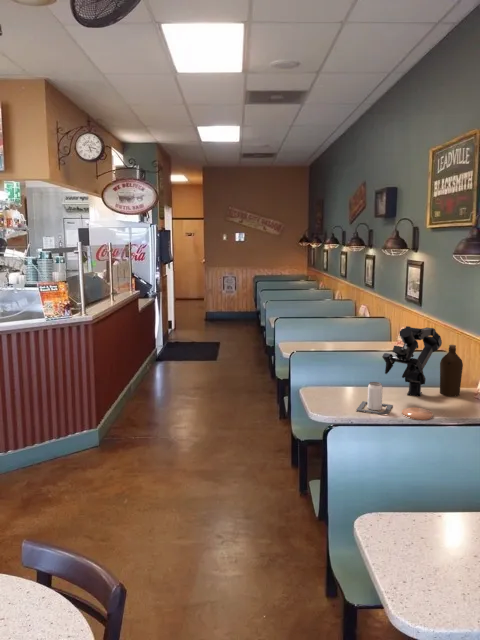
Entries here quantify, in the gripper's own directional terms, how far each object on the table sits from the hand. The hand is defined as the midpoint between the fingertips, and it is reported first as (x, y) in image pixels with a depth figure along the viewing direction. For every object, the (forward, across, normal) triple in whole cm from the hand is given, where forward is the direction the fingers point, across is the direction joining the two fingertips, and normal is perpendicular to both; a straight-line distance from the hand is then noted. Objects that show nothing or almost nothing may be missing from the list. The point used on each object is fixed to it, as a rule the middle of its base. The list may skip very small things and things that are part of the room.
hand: (393, 375), depth 255 cm
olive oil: (-15, +10, +34) cm, 39 cm away
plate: (+14, +16, +6) cm, 22 cm away
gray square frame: (+18, -2, +2) cm, 19 cm away
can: (+19, -2, +2) cm, 19 cm away
